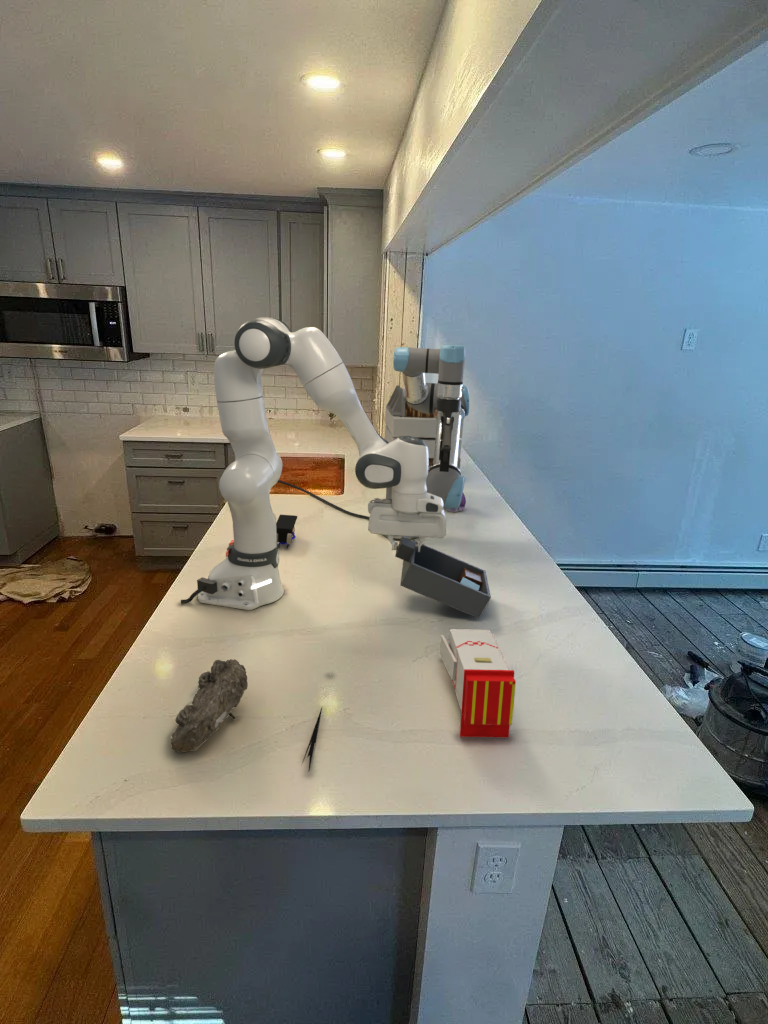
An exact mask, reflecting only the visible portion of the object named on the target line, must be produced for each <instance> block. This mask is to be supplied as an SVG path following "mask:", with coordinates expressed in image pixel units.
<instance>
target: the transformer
mask: <svg viewBox="0 0 768 1024" xmlns="http://www.w3.org/2000/svg"><path fill="white" fill-rule="evenodd" d="M384 414H385V416H384V424H385V425H384V426H385V427H384V439H385V440H386V441H388V442H389V443H390V442H392V441H394V440H396V439H397V438H398V437H399V436H411V437H415V438H418V439H420V440H422V441H423V442H424V443H425V444H426V445H427V447H428V453H429V467H432V466H433V460H434V450H435V440H436V429H437V420H436V419H435V417H434V414H426V413H422V412H419V411H417V410H415V409H414V408H412V407H411V406H410V405H409V404H408V403H407V402H406V401H405V399H404V396H403V388H402V387H401V385H399V384H397V385H396V386H395V388H394V389H393V392H392V393H391V395H390V398H389V400H388V402H387V403H386V405H385V413H384ZM464 420H465V419H463V421H462V422H460V435H459V449H458V463H457V468H458V469H459V470H460V471H461V462H462V458H461V452H462V443H463V442H462V438H463V431H464Z"/></svg>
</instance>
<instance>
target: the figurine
mask: <svg viewBox="0 0 768 1024" xmlns="http://www.w3.org/2000/svg"><path fill="white" fill-rule="evenodd" d="M466 503H467V500H466V496H465V493H464V492H463V494H462V498H461V503H460V506H459V507H458V508H457V509H446V511H447V512H450V513H457V512H463V511H464V510H465V507H466Z"/></svg>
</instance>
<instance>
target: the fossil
mask: <svg viewBox="0 0 768 1024" xmlns="http://www.w3.org/2000/svg"><path fill="white" fill-rule="evenodd" d="M197 683H198V684H197V687H198V690H197V691H196V693H195V694H194V697H193V698H192V701H191V704H187V705H185V706H184V707H183V708H182V709H181V710H179V712H178V713H177V715H176V717H175V719H174V721H175V723H176V725H177V726H176V728H175V730H174V731H173V732H172V733H171V735H170V736H171V738H170V747H171V750H172V751H176V752H178V753H186V752H190V751H193V752H195V751H197V750H198V749H199V748H200V747H201V746H202V745H203V744H204V743H205V742H207V741H208V740H209V739H210V737H211V736H212V735H213V734H215V733H216V731H218V730H219V729H220V728H221V726H222V725H223V723H224V721H225V720H226V719H227V718H228V717H230V718H232V720H235V719H236V716H235V715H234V714H233V713H232V710H233V709H235V708H237V706H238V705H239V704H240V702H241V700H242V698H243V696H244V693H245V691H246V690H247V689H248V686H249V685H248V675H247V669H246V668H245V666H244V665H243V664H241V663H240V661H238V660H237V659H236V658H234V659H232V658H230V659H226V660H221V659H216V660H214V661H213V662H212V665H211V667H210V671H208V670H207V671H205V672H201V674H200V675H199V676H198V681H197Z"/></svg>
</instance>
